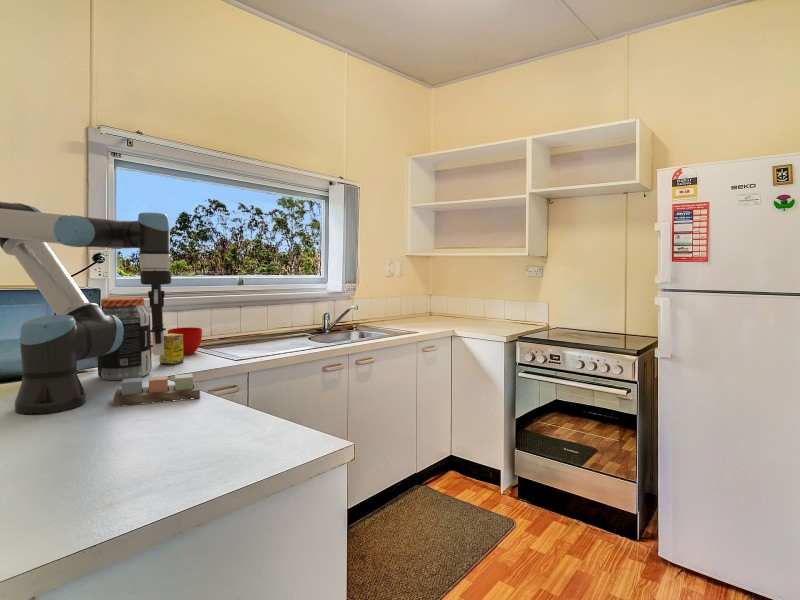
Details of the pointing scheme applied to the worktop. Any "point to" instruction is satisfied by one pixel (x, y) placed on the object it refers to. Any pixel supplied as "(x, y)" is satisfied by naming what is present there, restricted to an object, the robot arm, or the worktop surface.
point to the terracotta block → (158, 384)
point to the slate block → (131, 386)
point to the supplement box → (172, 349)
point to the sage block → (183, 382)
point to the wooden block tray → (156, 395)
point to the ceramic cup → (189, 338)
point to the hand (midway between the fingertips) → (158, 354)
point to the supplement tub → (128, 340)
